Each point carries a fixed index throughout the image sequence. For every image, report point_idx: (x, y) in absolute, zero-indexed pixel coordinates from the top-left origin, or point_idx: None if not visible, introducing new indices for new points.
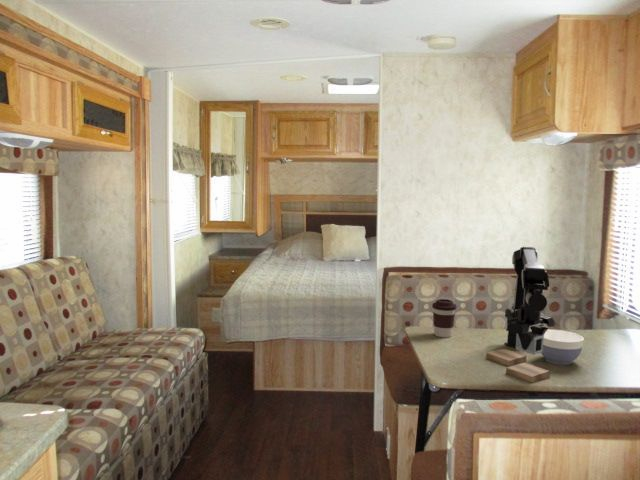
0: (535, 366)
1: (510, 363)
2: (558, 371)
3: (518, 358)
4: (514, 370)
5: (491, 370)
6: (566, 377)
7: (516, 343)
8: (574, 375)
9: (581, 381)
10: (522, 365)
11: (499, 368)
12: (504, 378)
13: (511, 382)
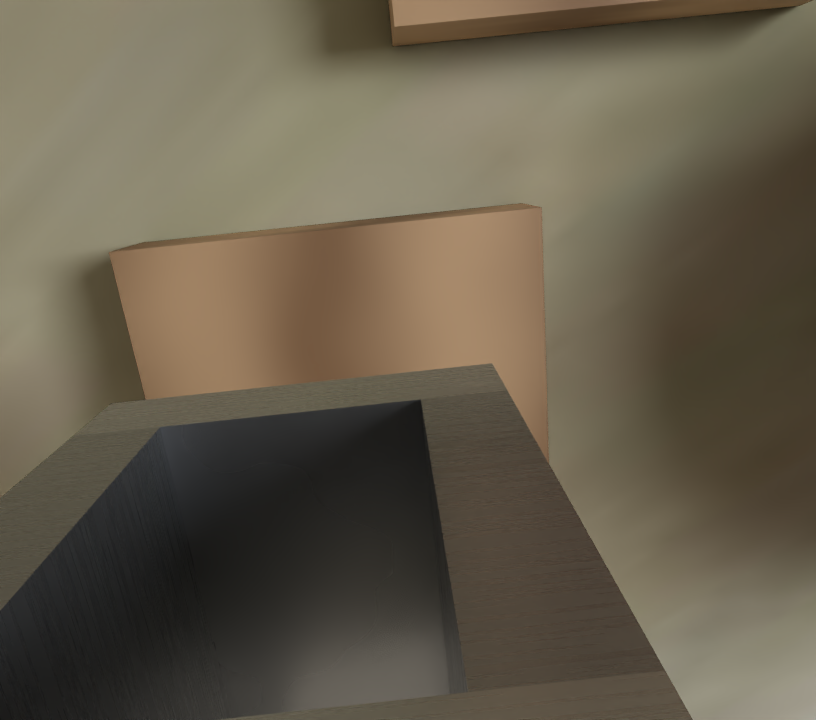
0: (540, 395)
1: (426, 36)
2: (773, 466)
3: (643, 2)
4: (143, 384)
5: (15, 58)
6: (672, 605)
7: (24, 498)
8: (793, 601)
9: (692, 712)
10: (408, 291)
11: (189, 51)
12: (3, 360)
13: (4, 478)
